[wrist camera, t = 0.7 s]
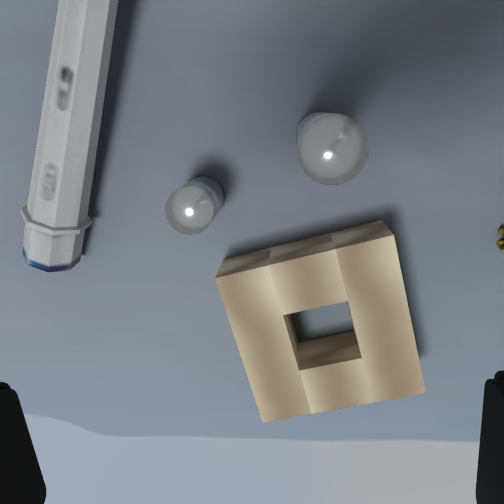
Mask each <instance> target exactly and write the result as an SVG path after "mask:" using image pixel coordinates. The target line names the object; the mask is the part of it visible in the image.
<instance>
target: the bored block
mask: <svg viewBox="0 0 504 504" xmlns="http://www.w3.org/2000/svg"><path fill="white" fill-rule="evenodd" d="M215 279H216V282H217V285H218V288H219V291H220V294H221V297H222V300H223V303H224V306H225V310H226V313H227V316H228V319H229V322H230V325H231V328H232V331H233V334H234V337H235V340H236V343H237V346H238V349H239V352H240V355H241V358H242V361H243V364H244V367H245V370H246V373H247V376H248V379H249V382H250V385H251V388H252V391H253V394H254V397H255V400H256V403H257V406H258V409H259V412H260V415H261V418H262V421H263V422H269V421H274V420H280V419H285V418H291V417H296V416H302V415H307V414H313V413H318V412H324V411H329V410H335V409H340V408H346V407H351V406H357V405H362V404H368V403H373V402H379V401H384V400H390V399H395V398H401V397H406V396H412V395H417V394H423V393H426V391H425V386H424V381H423V376H422V371H421V367H420V362H419V357H418V352H417V347H416V342H415V337H414V332H413V327H412V322H411V317H410V312H409V307H408V302H407V297H406V292H405V287H404V282H403V278H402V273H401V268H400V263H399V258H398V253H397V248H396V243H395V238H394V235H393V233H392V232H391V231H390V230H389V228H388V227H387V226H386V225H385V223H384V222H383V221H382V220H380V221H376V222H372V223H368V224H364V225H360V226H355V227H351V228H347V229H343V230H339V231H335V232H331V233H327V234H323V235H319V236H315V237H311V238H307V239H303V240H299V241H295V242H291V243H287V244H283V245H279V246H275V247H271V248H267V249H263V250H259V251H255V252H251V253H247V254H243V255H239V256H235V257H231V258H227V259H224V260H223V262H222V264H221V267H220V269H219V271H218V273H217V275H216V278H215ZM345 301H347V303H348V307H349V311H350V315H351V320H352V324H353V328H354V331H351V332H346V333H342V334H337V335H332V336H327V337H323V338H318V339H313V340H308V341H304V342H299V343H298V339H297V336H296V332H295V329H294V325H293V322H292V318H291V315H290V314H291V313H295V312H300V311H304V310H309V309H313V308H318V307H322V306H327V305H331V304H336V303H340V302H345Z"/></svg>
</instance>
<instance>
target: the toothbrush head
mask: <svg viewBox="0 0 504 504" xmlns="http://www.w3.org/2000/svg"><path fill="white" fill-rule="evenodd" d="M117 6H118V0H59V5H58V11H57V17H56V24H55V30H54V37H53V43H52V50H51V56H50V63H49V69H48V75H47V82H46V88H45V95H44V101H43V108H42V114H41V121H40V127H39V133H38V140H37V146H36V153H35V159H34V166H33V172H32V179H31V185H30V191H29V198H28V204H27V206H25V207H23V208H21V215H22V217H23V219H24V221H25V232H24V242H23V252H22V254H23V256H24V258H25V260H26V262H27V264H28V265H29V266H32V267H35V268H38V269H41V270H43V271H46V272H56V271H67V270H71V269H72V268H73V267H74V266H75V265H76V264H77V263H78V262H79V261H80V257H81V251H82V245H83V239H84V233H85V229H86V228H88V227H89V226H90V225H91V223H92V220H91V219H90V217H89V216H88V208H89V201H90V194H91V187H92V180H93V173H94V166H95V159H96V152H97V145H98V138H99V131H100V124H101V117H102V110H103V103H104V96H105V89H106V82H107V76H108V69H109V62H110V55H111V48H112V41H113V34H114V27H115V20H116V13H117Z"/></svg>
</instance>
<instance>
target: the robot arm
mask: <svg viewBox="0 0 504 504" xmlns="http://www.w3.org/2000/svg"><path fill="white" fill-rule="evenodd" d="M45 498H46V486H45V483H44V480H43V476H42V473H41V470H40V467H39V463H38V460H37V457H36V454H35V450H34V447H33V444H32V440H31V437H30V434H29V431H28V428H27V424H26V421H25V418H24V414H23V411H22V408H21V405H20V401H19V398H18V395H17V393H16V391H15V390H13V389H11V388H10V386H9V385H8V384H7V383H4V382H0V504H44V502H45ZM476 500H477V504H504V371H498V372H497V373H496V374H495V377H494V379H488V380H487V381H486V383H485V389H484V400H483V412H482V423H481V435H480V448H479V458H478V471H477V482H476Z"/></svg>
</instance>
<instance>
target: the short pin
mask: <svg viewBox="0 0 504 504" xmlns="http://www.w3.org/2000/svg"><path fill="white" fill-rule="evenodd" d="M223 202H224V192H223V189H222V187H221V186H220V184H219V183H218V182H217V181H216V180H214V179H212V178H210V177H206V176H200V177H196V178H194V179H192V180H191V181H189V182H188V183H186V184H185V185H184V186H182V187H181V188H179V189H178V190H176V191H175V192H174V193H172V194H171V195H170V197H169V198H168V200H167V202H166V207H165V213H166V217H167V220H168V222H169V224H170V225H171V226H172V227H173V228H174V229H175V230H177V231H178V232H180V233H183V234H187V235H194V234H198V233H200V232H202V231H204V230H205V229H206V228H207V227H208V226H209V224H210V223H211V221H212V220H213V219H214V217H215V216H216V214H217V213H218V212H219V210H220V209H221V207H222V205H223Z"/></svg>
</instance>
